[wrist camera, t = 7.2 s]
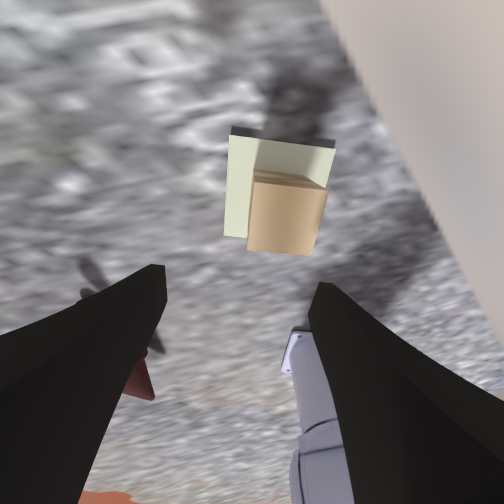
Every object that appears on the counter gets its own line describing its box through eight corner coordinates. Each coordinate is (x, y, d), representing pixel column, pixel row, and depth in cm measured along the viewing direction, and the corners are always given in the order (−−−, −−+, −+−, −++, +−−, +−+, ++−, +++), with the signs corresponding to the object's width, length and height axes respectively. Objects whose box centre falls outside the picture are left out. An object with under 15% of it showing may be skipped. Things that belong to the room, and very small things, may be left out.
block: (303, 175, 16) (329, 190, 11) (292, 222, 18) (310, 255, 13) (253, 169, 16) (254, 182, 10) (247, 218, 18) (246, 249, 12)
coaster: (333, 149, 16) (335, 149, 15) (307, 241, 19) (309, 244, 19) (230, 135, 15) (229, 134, 15) (224, 232, 19) (223, 235, 18)
